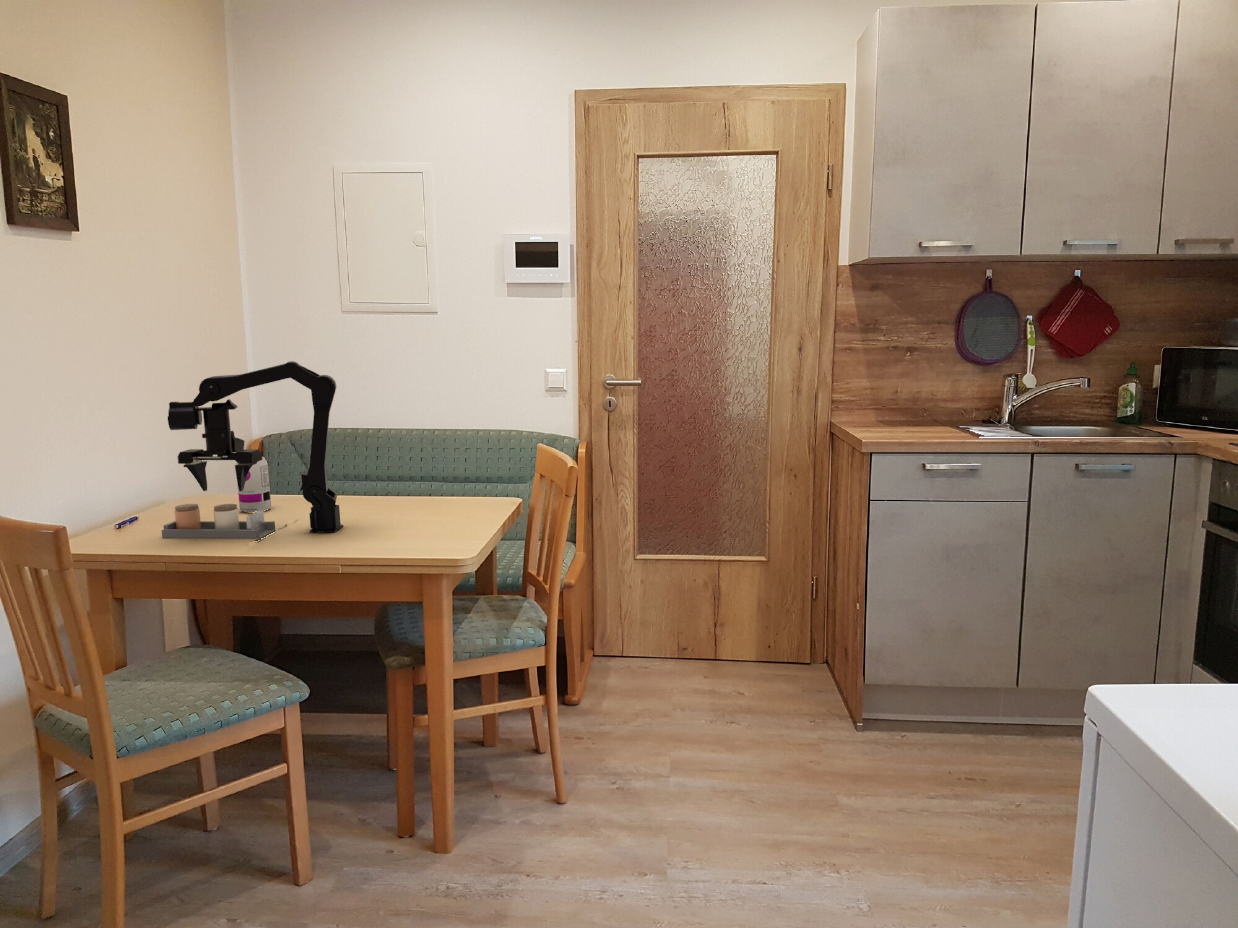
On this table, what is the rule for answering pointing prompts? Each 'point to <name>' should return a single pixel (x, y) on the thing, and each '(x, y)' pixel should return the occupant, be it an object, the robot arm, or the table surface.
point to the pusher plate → (256, 521)
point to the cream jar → (226, 517)
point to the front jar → (187, 516)
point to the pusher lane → (216, 531)
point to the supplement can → (256, 489)
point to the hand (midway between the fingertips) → (223, 490)
